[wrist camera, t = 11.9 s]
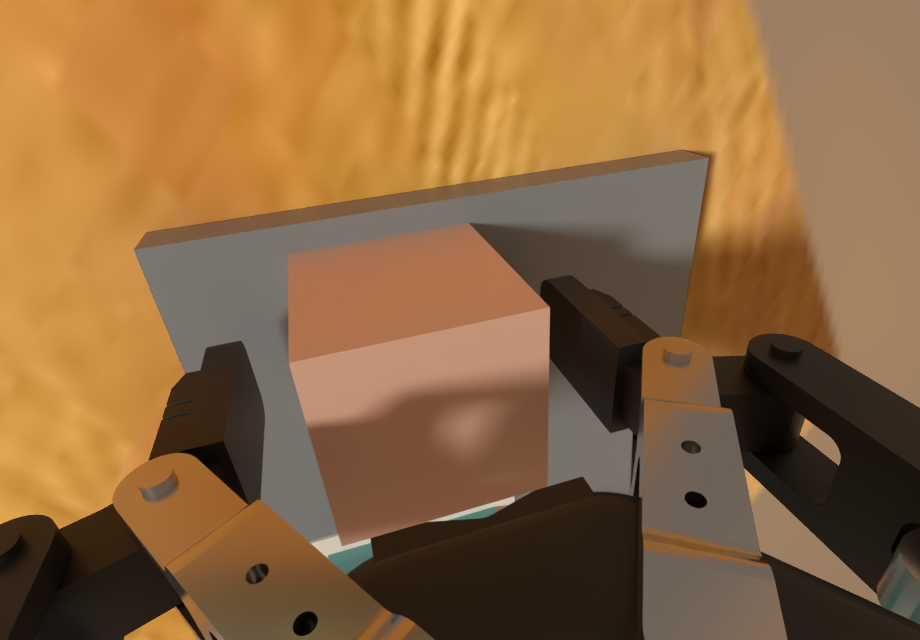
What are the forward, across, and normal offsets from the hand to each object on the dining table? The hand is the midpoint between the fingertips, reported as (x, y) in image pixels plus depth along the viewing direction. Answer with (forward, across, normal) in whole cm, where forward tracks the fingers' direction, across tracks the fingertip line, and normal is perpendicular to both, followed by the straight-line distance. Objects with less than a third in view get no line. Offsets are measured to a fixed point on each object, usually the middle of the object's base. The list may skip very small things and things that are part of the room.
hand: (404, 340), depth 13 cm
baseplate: (+3, -2, +6) cm, 7 cm away
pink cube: (+1, 0, 0) cm, 1 cm away
